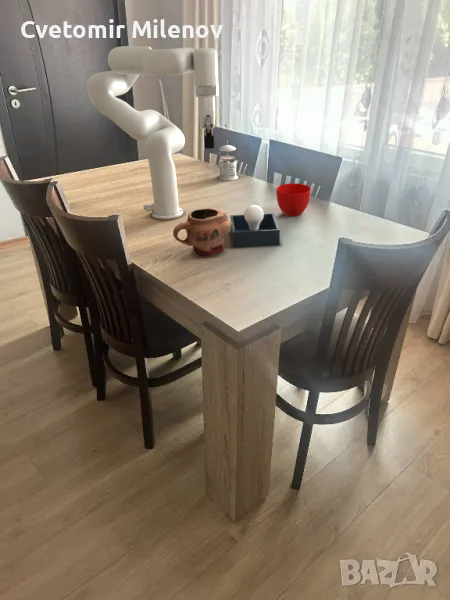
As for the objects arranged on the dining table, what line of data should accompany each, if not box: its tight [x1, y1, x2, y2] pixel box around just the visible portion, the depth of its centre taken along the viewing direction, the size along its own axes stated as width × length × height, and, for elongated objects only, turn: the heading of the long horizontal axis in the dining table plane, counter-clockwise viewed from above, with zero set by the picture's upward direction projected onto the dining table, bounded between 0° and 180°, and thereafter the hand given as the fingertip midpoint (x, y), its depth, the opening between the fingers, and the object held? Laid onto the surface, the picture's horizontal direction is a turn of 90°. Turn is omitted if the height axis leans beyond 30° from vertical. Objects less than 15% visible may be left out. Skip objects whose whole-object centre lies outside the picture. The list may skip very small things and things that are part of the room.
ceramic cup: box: [276, 182, 312, 217], centre depth 173 cm, size 13×17×10 cm
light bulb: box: [243, 204, 265, 231], centre depth 152 cm, size 7×7×11 cm
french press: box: [213, 123, 239, 181], centre depth 212 cm, size 10×12×25 cm
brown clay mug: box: [172, 207, 232, 258], centre depth 142 cm, size 20×12×14 cm, turn 122°
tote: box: [229, 212, 281, 249], centre depth 154 cm, size 16×16×6 cm
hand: (209, 145), depth 155 cm, fingers open, 9 cm apart
